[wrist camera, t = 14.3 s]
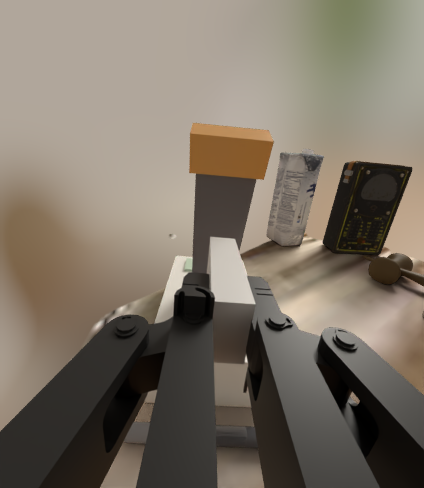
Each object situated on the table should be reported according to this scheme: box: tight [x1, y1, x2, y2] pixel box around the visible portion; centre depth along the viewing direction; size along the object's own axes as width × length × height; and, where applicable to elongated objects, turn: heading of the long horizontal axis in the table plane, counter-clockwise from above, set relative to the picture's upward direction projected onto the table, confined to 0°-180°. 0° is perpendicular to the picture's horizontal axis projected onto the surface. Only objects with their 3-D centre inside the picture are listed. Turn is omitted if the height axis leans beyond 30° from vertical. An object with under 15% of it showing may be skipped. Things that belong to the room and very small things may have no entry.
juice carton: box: [267, 149, 324, 246], centre depth 68 cm, size 9×10×27 cm
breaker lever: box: [189, 123, 274, 274], centre depth 24 cm, size 2×6×19 cm, turn 91°
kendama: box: [363, 253, 424, 286], centre depth 51 cm, size 6×10×20 cm
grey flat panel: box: [124, 422, 258, 448], centre depth 33 cm, size 29×14×1 cm, turn 1°
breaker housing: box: [145, 256, 251, 407], centre depth 32 cm, size 22×12×7 cm, turn 1°
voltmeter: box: [323, 161, 412, 255], centre depth 66 cm, size 16×9×25 cm, turn 94°
